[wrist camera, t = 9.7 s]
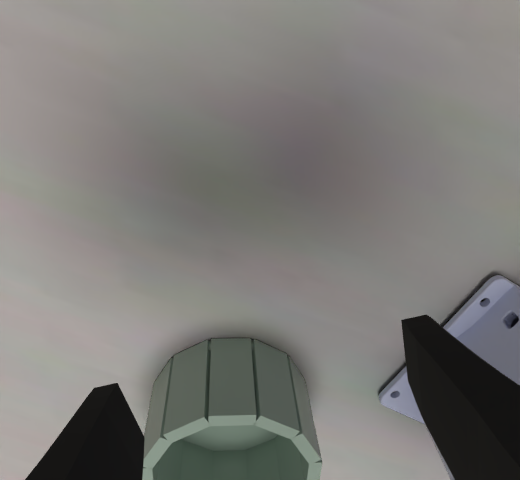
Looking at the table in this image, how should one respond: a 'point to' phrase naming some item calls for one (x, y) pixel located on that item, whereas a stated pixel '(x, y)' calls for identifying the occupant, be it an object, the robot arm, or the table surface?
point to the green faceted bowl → (230, 416)
